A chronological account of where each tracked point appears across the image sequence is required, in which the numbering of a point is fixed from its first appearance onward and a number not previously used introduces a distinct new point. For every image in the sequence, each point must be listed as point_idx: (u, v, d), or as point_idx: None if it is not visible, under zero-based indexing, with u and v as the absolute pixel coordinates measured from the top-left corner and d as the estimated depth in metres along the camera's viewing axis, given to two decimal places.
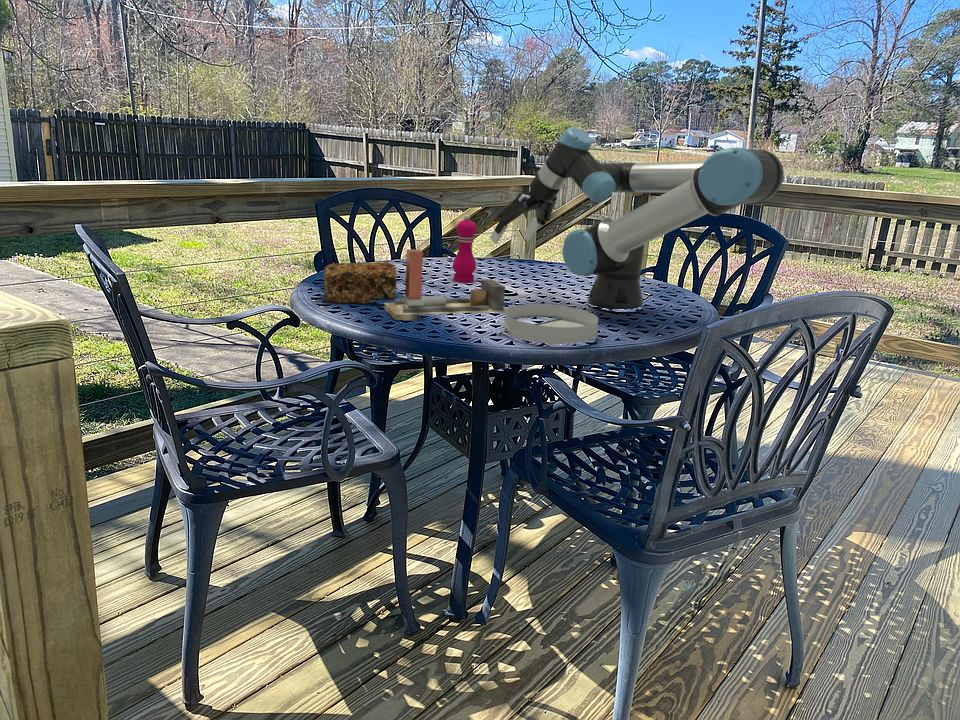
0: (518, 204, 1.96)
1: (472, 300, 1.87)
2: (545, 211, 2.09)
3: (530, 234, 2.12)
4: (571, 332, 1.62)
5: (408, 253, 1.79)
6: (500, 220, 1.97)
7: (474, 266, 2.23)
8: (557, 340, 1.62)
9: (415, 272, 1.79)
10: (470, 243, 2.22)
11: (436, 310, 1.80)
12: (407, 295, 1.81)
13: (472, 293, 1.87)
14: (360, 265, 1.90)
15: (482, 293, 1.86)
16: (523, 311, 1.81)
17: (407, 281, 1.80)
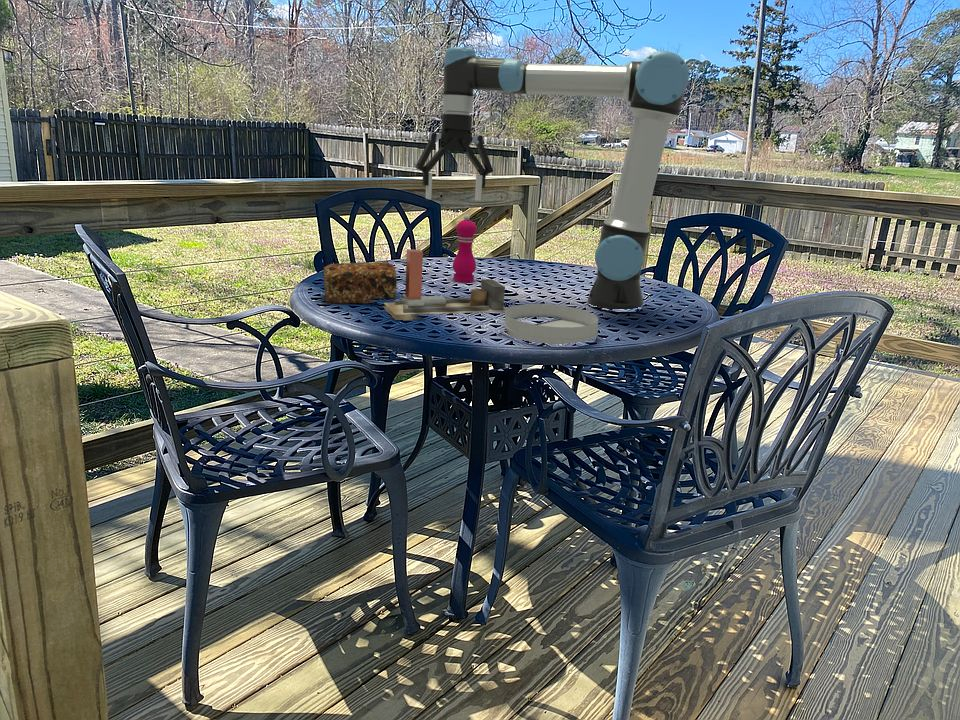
0: (429, 142, 1.85)
1: (473, 300, 1.87)
2: (483, 161, 1.92)
3: (478, 192, 1.93)
4: (571, 332, 1.62)
5: (408, 253, 1.79)
6: (417, 165, 1.85)
7: (474, 266, 2.23)
8: (557, 340, 1.62)
9: (415, 272, 1.79)
10: (470, 243, 2.22)
11: (436, 310, 1.80)
12: (407, 295, 1.81)
13: (472, 293, 1.87)
14: (360, 265, 1.90)
15: (482, 293, 1.86)
16: (523, 311, 1.81)
17: (407, 281, 1.80)
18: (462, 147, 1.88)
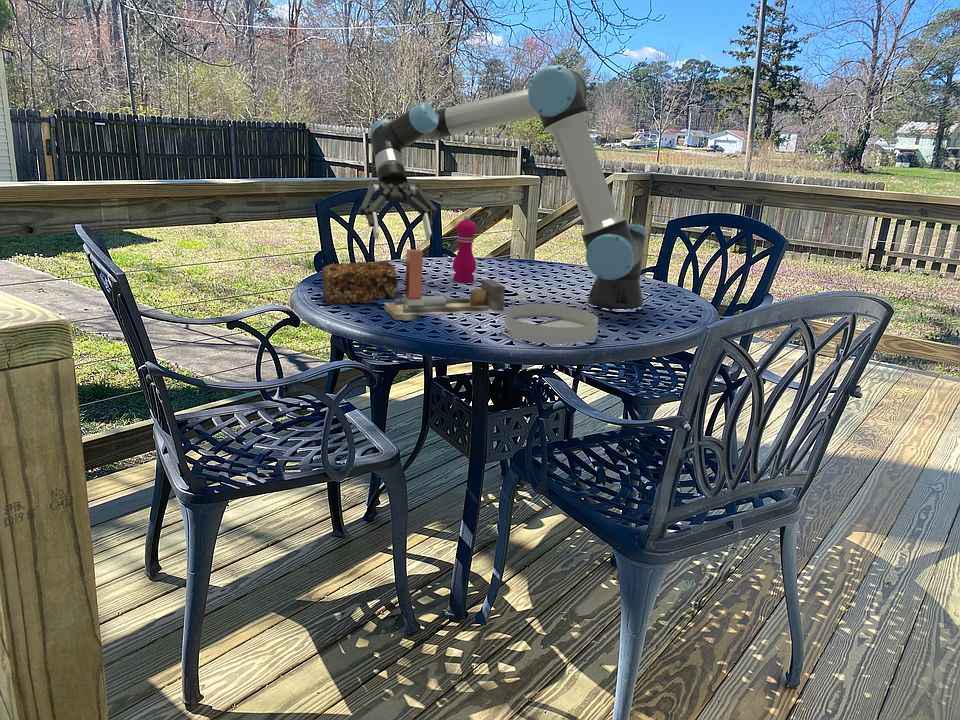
0: None
1: (473, 300, 1.87)
2: (425, 205, 1.94)
3: (427, 227, 1.90)
4: (571, 332, 1.62)
5: (408, 253, 1.79)
6: None
7: (474, 266, 2.23)
8: (557, 340, 1.62)
9: (415, 272, 1.79)
10: (470, 243, 2.22)
11: (436, 310, 1.80)
12: (407, 295, 1.81)
13: (472, 293, 1.87)
14: (361, 265, 1.90)
15: (482, 293, 1.86)
16: (523, 311, 1.81)
17: (407, 281, 1.80)
18: (401, 192, 1.92)
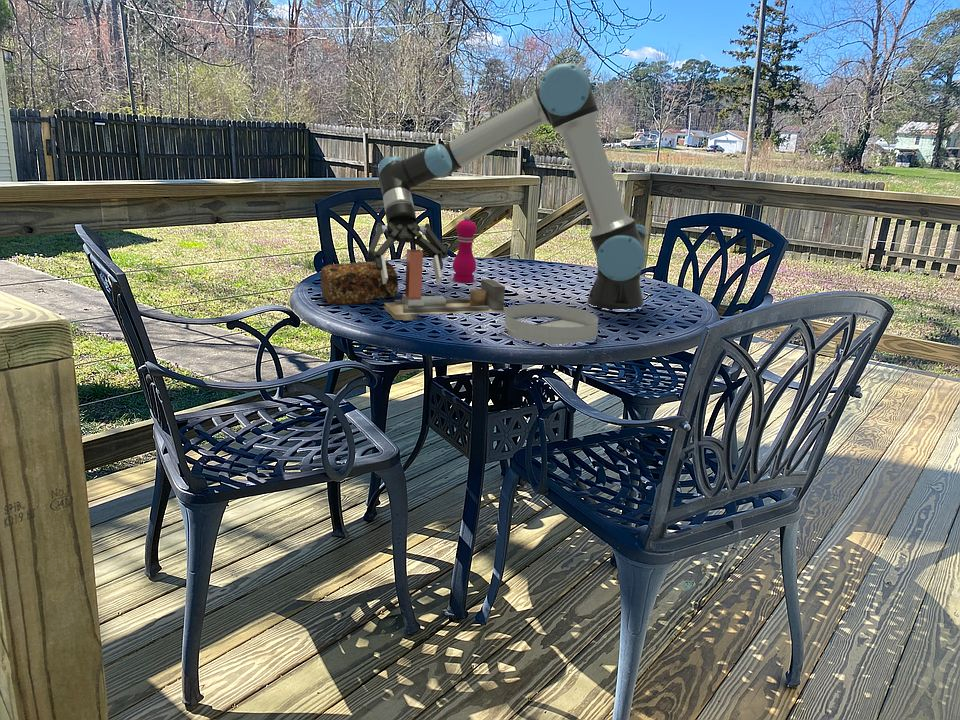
0: (376, 232, 1.83)
1: (473, 300, 1.87)
2: (435, 246, 1.87)
3: (437, 270, 1.83)
4: (571, 332, 1.62)
5: (408, 253, 1.79)
6: (368, 251, 1.80)
7: (474, 266, 2.23)
8: (557, 340, 1.62)
9: (415, 272, 1.79)
10: (470, 243, 2.22)
11: (436, 310, 1.80)
12: (407, 295, 1.81)
13: (472, 293, 1.87)
14: (361, 265, 1.90)
15: (482, 293, 1.86)
16: (523, 311, 1.81)
17: (407, 281, 1.80)
18: (410, 233, 1.85)
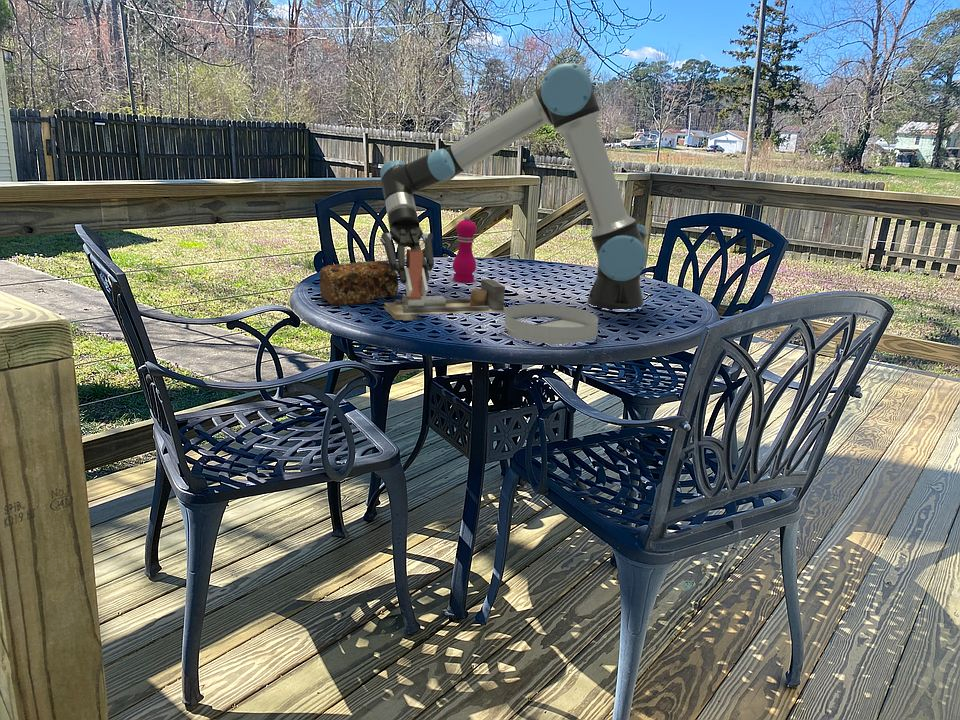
0: (386, 243, 1.81)
1: (474, 300, 1.87)
2: (427, 256, 1.84)
3: (423, 283, 1.79)
4: (571, 332, 1.62)
5: (407, 253, 1.79)
6: (392, 264, 1.79)
7: (474, 266, 2.23)
8: (557, 340, 1.62)
9: (415, 272, 1.79)
10: (470, 243, 2.22)
11: (436, 310, 1.80)
12: None
13: (473, 293, 1.86)
14: (361, 265, 1.90)
15: (483, 293, 1.86)
16: (523, 311, 1.81)
17: None
18: (410, 237, 1.84)
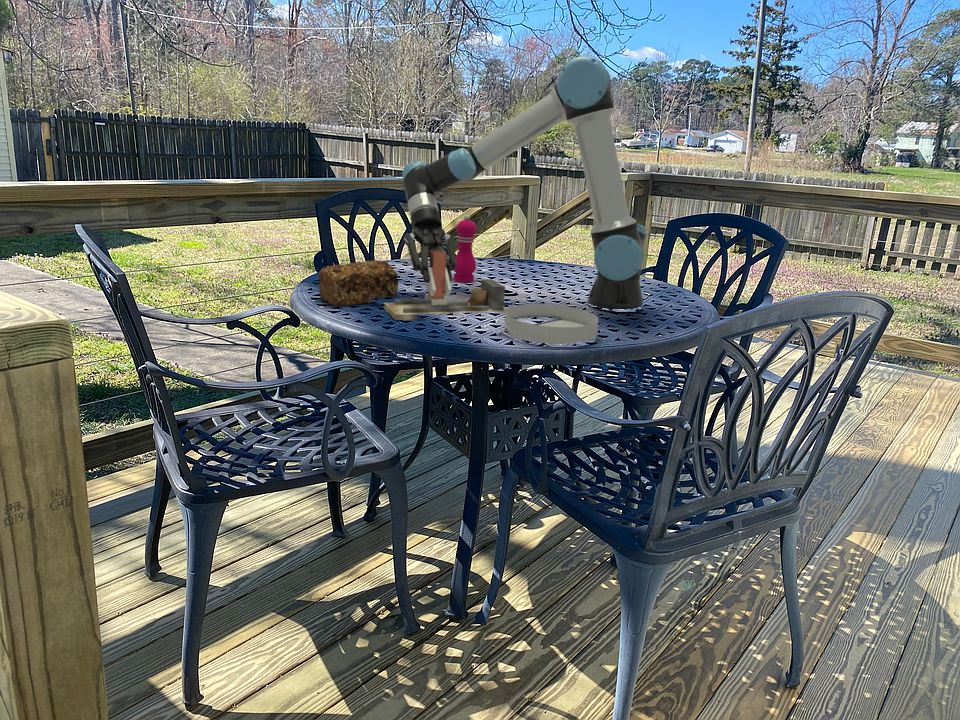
0: (409, 243, 1.84)
1: (474, 300, 1.87)
2: (449, 256, 1.86)
3: (446, 282, 1.81)
4: (571, 332, 1.62)
5: (431, 253, 1.81)
6: (415, 263, 1.81)
7: (474, 266, 2.23)
8: (557, 340, 1.62)
9: (438, 272, 1.81)
10: (470, 243, 2.22)
11: (436, 310, 1.80)
12: None
13: (474, 293, 1.86)
14: (362, 265, 1.90)
15: (484, 293, 1.87)
16: (523, 311, 1.81)
17: None
18: (433, 238, 1.86)
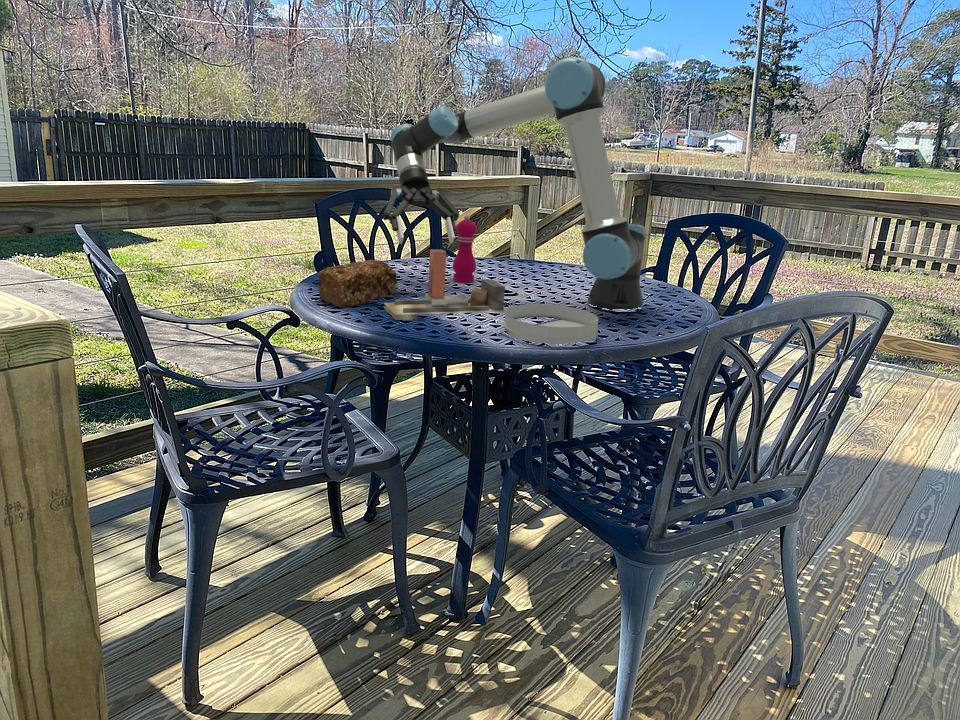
0: (391, 195, 1.91)
1: (476, 301, 1.87)
2: (448, 209, 1.96)
3: (450, 231, 1.91)
4: (571, 331, 1.62)
5: (431, 253, 1.81)
6: (384, 213, 1.88)
7: (474, 266, 2.23)
8: (557, 340, 1.62)
9: (438, 272, 1.81)
10: (470, 243, 2.22)
11: (436, 310, 1.80)
12: (430, 295, 1.83)
13: (475, 294, 1.86)
14: (363, 265, 1.90)
15: (485, 293, 1.87)
16: (523, 311, 1.81)
17: (430, 281, 1.82)
18: (424, 196, 1.94)
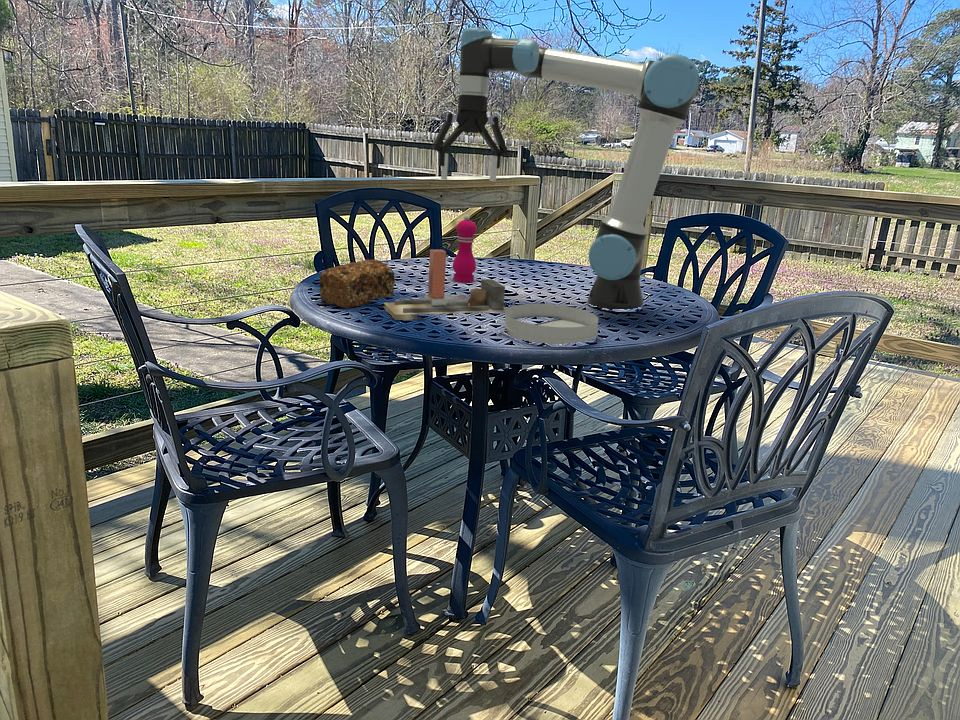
0: (445, 123, 1.87)
1: (477, 301, 1.87)
2: (498, 141, 1.94)
3: (493, 172, 1.95)
4: (571, 332, 1.62)
5: (431, 253, 1.81)
6: (434, 146, 1.88)
7: (474, 266, 2.23)
8: (557, 340, 1.62)
9: (438, 272, 1.81)
10: (470, 243, 2.22)
11: (436, 310, 1.80)
12: (430, 295, 1.83)
13: (476, 294, 1.86)
14: (364, 265, 1.90)
15: (485, 292, 1.87)
16: (523, 311, 1.81)
17: (430, 281, 1.82)
18: (478, 128, 1.89)
